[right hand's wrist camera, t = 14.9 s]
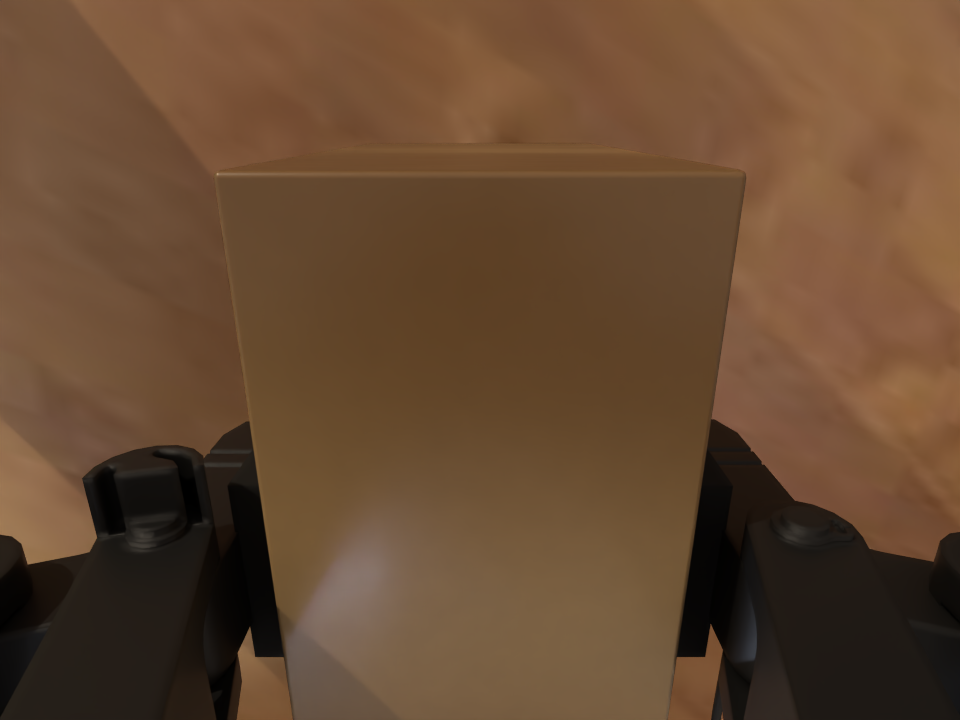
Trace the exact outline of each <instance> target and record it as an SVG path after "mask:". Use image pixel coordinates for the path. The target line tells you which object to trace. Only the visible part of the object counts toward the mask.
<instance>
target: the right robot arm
mask: <svg viewBox="0 0 960 720" xmlns="http://www.w3.org/2000/svg"><path fill="white" fill-rule="evenodd" d="M761 462H762V461H761V460H760V459H759V458H758V457H757V456H756V454H755V453H754V452H751V448H750V447H749V446H748V445H747V444H746V442H745V441H744V440H743V439H742V438H741V437H740V435H739V434H738V433H737V432H735V431H733V430H732V429H730V428H728V427H726V426H725V425H723V424H721V423H720V422H718V421H716V420H711V424H710V431H709V438H708V445H707V452H706V458H705V465H704V472H703V479H702V486H701V493H700V500H699V507H698V513H697V520H696V527H695V534H694V541H693V548H692V555H691V562H690V569H689V575H688V582H687V589H686V596H685V603H684V610H683V617H682V624H681V630H680V637H679V644H678V651H677V657H705V655H706V649H707V642H708V636H709V630H710V624H711V625H712V627H713V629H714V631H715V634H716V636H717V638H718V640H719V642H720V644H721V647H722V649H723V653H722V659H721V664H720V670H719V676H718V681H717V687H716V693H715V698H714V704H713V710H712V717H711V720H721V715H722V711H723V718H724V720H960V532H957V533H950V534H948V535H947V536H946V537H945V538H943V539H942V540H941V541H940V543H939V547H938V550H937V553H936V556H935V560H934V562H931V561H926V560H921V559H916V558H910V557H905V556H900V555H895V554H889V553H884V552H880V551H876V550H872V549H869V548H868V546H867V544H866V542H865V540H864V538H863V537H862V536H861V534H860V533H859V532H858V531H857V530H856V529H855V528H854V526H853V525H852V524H850V523H849V522H847V521H846V520H844V519H843V518H841V517H840V516H838V515H836V514H835V513H833V512H830V511H828V510H825V509H823V508H820V507H818V506H815V505H812V504H807V503H803V502H798V501H794V499H793V498H792V497H791V496H790V495H789V494H788V492H787V491H786V490H785V489H784V488H783V486H782V485H781V484H780V483H779V482H778V480H777V479H776V478H775V477H774V476H773V475H772V473H771V472H770V471H769V470H768V469H767V467H766V466H765V465H762V463H761ZM82 480H83V484H84V488H85V491H86V495H87V499H88V503H89V507H90V511H91V515H92V519H93V523H94V526H95V530H96V534H97V539H96V541H95V543H94V545H93V547H92V549H91V551H90V552H89V553H85V554H81V555H76V556H71V557H65V558H60V559H55V560H50V561H45V562H39V563H34V564H29V565H28V564H27V561H26V558H25V554H24V551H23V548H22V545H21V543H19V542H18V541H17V540H16V539H14V538H13V537H12V536H5V535H0V720H237V712H238V705H239V698H240V691H241V684H242V679H241V671H240V664H239V659H238V651H239V649H240V647H241V644H242V642H243V640H244V638H245V636H246V634H247V631H248V629H249V627H250V628H251V634H252V640H253V646H254V652H255V657H284V653H283V647H282V640H281V633H280V626H279V619H278V613H277V606H276V599H275V592H274V585H273V578H272V572H271V565H270V558H269V551H268V544H267V538H266V531H265V524H264V517H263V510H262V504H261V497H260V490H259V483H258V476H257V469H256V463H255V456H254V449H253V442H252V435H251V429H250V422H245V423H243V424H241V425H240V426H238V427H236V428H235V429H233V430H231V431H229V432H228V433H226V434H224V435H223V436H222V437H221V439H220V440H219V441H218V442H217V443H216V445H215V446H214V447H213V448H212V449H211V450H210V454H207V455H206V456H205V458H204V459H203V455H201V454H200V453H199V452H197V451H196V450H195V449H193V448H188V447H183V446H179V445H168V446H153V447H147V448H142V449H136V450H133V451H130V452H127V453H124V454H121V455H118V456H115V457H112V458H110V459H108V460H107V461H105V462H103V463H101V464H99V465H97V466H95V467H94V468H93V469H92V470H91V471H90V472H88V473H87V474H86V475H85V476H84V477H83V478H82Z"/></svg>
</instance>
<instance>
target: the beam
mask: <svg viewBox="0 0 960 720" xmlns="http://www.w3.org/2000/svg"><path fill="white" fill-rule="evenodd" d="M214 183H215V190H216V197H217V204H218V211H219V217H220V224H221V231H222V238H223V245H224V251H225V258H226V265H227V272H228V279H229V285H230V292H231V299H232V306H233V313H234V320H235V326H236V333H237V340H238V347H239V354H240V360H241V367H242V374H243V381H244V388H245V394H246V401H247V408H248V415H249V422H250V429H251V435H252V442H253V449H254V456H255V463H256V469H257V476H258V483H259V490H260V497H261V504H262V510H263V517H264V524H265V531H266V538H267V544H268V551H269V558H270V565H271V572H272V578H273V585H274V592H275V599H276V606H277V613H278V619H279V626H280V633H281V640H282V647H283V653H284V660H285V667H286V674H287V681H288V687H289V694H290V701H291V708H292V715H293V720H668V713H669V706H670V699H671V692H672V686H673V679H674V672H675V665H676V658H677V651H678V644H679V637H680V630H681V624H682V617H683V610H684V603H685V596H686V589H687V582H688V575H689V569H690V562H691V555H692V548H693V541H694V534H695V527H696V520H697V513H698V507H699V500H700V493H701V486H702V479H703V472H704V465H705V458H706V452H707V445H708V438H709V431H710V424H711V417H712V410H713V403H714V396H715V390H716V383H717V376H718V369H719V362H720V355H721V348H722V341H723V334H724V328H725V321H726V314H727V307H728V300H729V293H730V286H731V279H732V273H733V266H734V259H735V252H736V245H737V238H738V231H739V224H740V217H741V211H742V204H743V197H744V190H745V183H746V174H745V172H743V171H741V170H738V169H733V168H727V167H721V166H715V165H710V164H704V163H698V162H693V161H687V160H681V159H676V158H670V157H664V156H658V155H653V154H647V153H641V152H636V151H630V150H624V149H619V148H613V147H607V146H601V145H596V144H590V143H559V144H365V145H360V146H354V147H348V148H343V149H337V150H331V151H326V152H320V153H314V154H309V155H303V156H297V157H292V158H286V159H281V160H275V161H269V162H264V163H258V164H252V165H247V166H241V167H235V168H230V169H224V170H220V171H218V172H215V175H214Z"/></svg>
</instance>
